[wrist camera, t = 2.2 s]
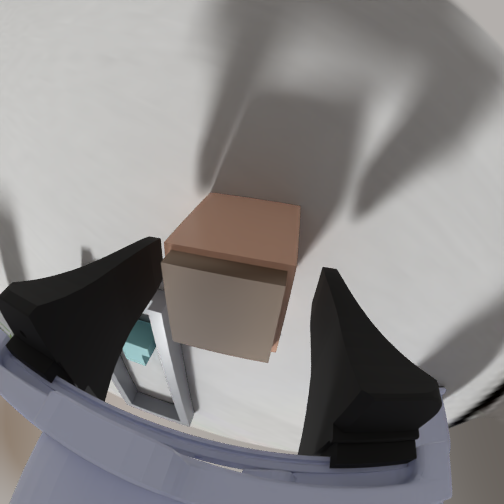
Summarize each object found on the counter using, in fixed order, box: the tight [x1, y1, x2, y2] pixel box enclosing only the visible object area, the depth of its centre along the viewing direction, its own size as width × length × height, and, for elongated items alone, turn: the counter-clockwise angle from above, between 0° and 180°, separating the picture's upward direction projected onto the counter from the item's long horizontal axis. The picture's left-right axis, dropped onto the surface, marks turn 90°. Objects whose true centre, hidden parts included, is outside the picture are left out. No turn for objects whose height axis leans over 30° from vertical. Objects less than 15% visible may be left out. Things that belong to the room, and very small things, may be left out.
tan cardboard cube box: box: [161, 192, 301, 363], centre depth 12 cm, size 4×4×6 cm
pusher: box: [123, 320, 156, 366], centre depth 20 cm, size 6×5×2 cm
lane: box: [111, 289, 194, 426], centre depth 22 cm, size 8×20×2 cm, turn 175°
